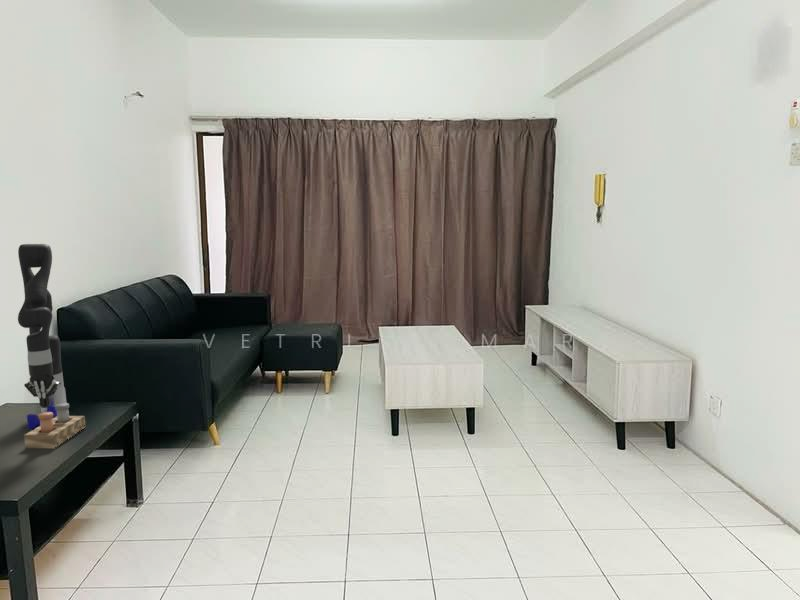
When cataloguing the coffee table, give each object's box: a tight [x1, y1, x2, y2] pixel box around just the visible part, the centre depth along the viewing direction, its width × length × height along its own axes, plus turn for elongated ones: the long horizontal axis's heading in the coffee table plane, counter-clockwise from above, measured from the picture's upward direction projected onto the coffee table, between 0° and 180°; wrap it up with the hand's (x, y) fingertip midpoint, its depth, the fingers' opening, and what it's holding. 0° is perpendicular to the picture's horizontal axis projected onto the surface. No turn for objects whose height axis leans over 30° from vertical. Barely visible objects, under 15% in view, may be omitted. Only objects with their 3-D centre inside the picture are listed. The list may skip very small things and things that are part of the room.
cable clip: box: [26, 405, 57, 430], centre depth 242 cm, size 12×4×6 cm, turn 169°
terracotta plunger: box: [37, 412, 54, 433], centre depth 221 cm, size 5×5×8 cm
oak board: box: [23, 415, 87, 449], centre depth 227 cm, size 20×11×5 cm, turn 177°
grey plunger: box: [55, 402, 70, 423], centre depth 231 cm, size 5×5×8 cm
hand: (45, 407), depth 220 cm, fingers closed
